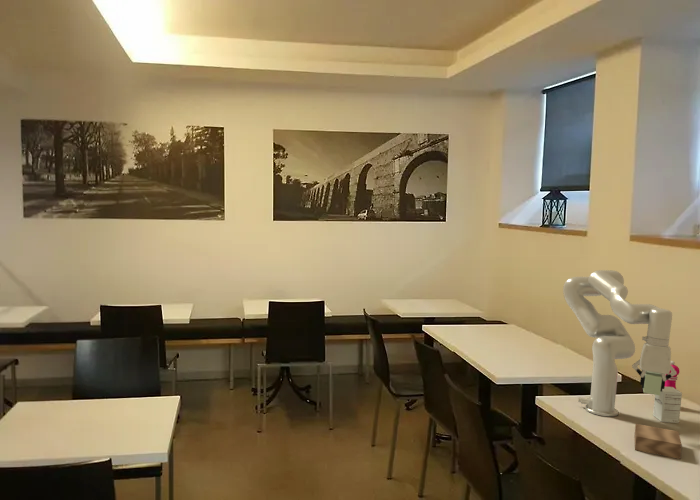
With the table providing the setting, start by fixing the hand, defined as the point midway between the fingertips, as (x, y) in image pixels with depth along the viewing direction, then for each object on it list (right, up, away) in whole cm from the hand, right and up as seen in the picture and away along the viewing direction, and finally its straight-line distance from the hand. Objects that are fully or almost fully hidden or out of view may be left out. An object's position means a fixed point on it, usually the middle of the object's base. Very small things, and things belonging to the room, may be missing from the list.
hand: (651, 388), depth 229 cm
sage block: (0, -1, 0) cm, 1 cm away
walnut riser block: (-5, -18, -13) cm, 23 cm away
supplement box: (+15, -17, +18) cm, 29 cm away
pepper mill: (+25, -16, +36) cm, 46 cm away
